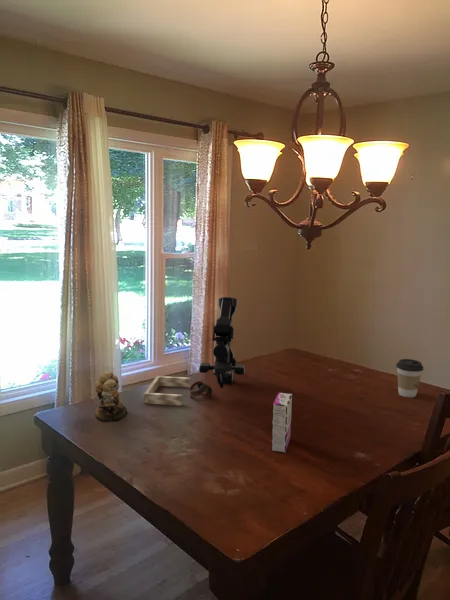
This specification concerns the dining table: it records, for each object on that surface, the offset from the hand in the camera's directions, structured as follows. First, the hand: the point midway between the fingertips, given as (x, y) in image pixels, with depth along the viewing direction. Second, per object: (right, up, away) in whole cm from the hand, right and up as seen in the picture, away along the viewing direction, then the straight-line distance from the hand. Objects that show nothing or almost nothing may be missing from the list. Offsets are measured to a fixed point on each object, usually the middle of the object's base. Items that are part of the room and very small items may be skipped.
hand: (221, 388), depth 206 cm
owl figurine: (-42, -7, -20) cm, 47 cm away
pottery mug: (-9, -4, +1) cm, 9 cm away
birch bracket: (-23, -3, +2) cm, 23 cm away
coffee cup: (+82, -5, +10) cm, 83 cm away
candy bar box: (+20, -12, -42) cm, 48 cm away
